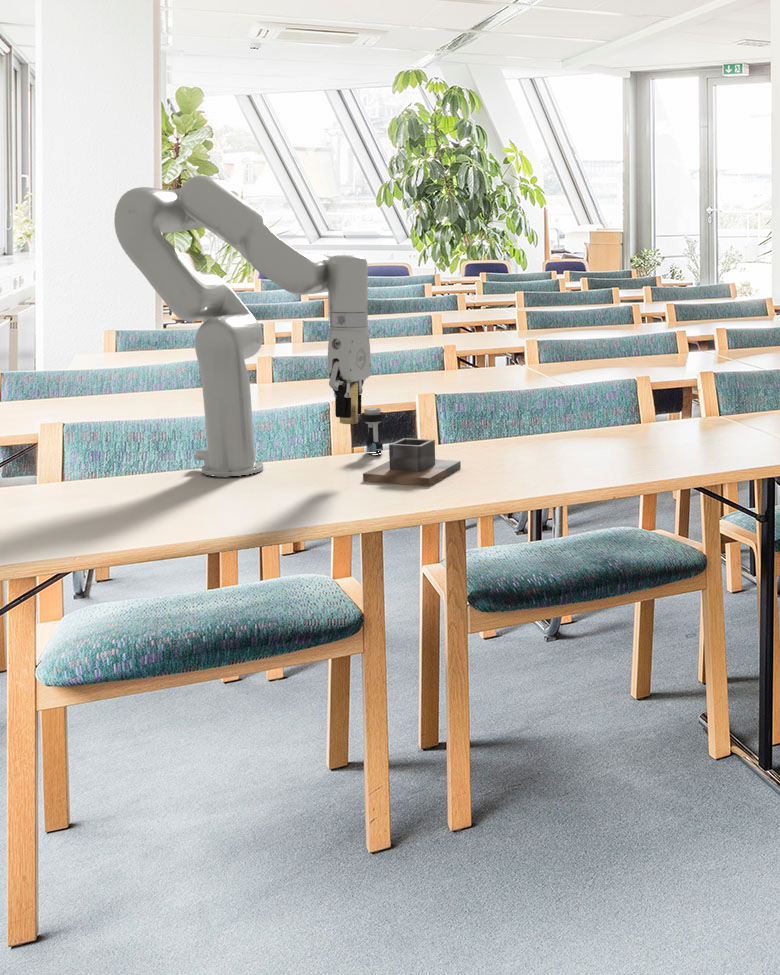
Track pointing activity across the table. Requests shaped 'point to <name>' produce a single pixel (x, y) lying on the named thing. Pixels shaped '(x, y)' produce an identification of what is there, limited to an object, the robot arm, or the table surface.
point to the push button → (373, 429)
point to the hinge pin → (352, 403)
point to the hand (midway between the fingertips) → (348, 414)
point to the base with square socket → (412, 464)
